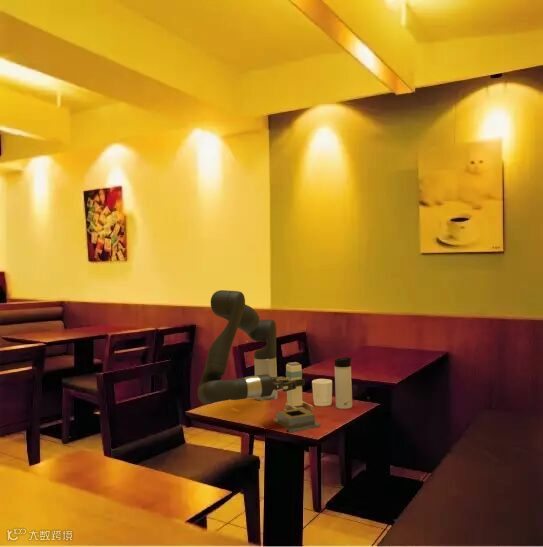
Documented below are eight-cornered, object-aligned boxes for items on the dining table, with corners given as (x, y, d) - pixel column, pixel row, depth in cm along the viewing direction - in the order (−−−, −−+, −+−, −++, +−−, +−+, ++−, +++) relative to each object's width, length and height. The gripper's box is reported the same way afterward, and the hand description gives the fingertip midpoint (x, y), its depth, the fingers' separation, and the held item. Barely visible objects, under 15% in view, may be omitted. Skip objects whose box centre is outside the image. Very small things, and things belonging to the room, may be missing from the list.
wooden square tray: (283, 411, 213) (283, 403, 212) (304, 408, 216) (303, 400, 216) (293, 417, 204) (293, 409, 204) (315, 413, 208) (314, 405, 208)
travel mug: (349, 412, 208) (347, 359, 208) (333, 410, 212) (331, 358, 211) (355, 408, 214) (354, 356, 213) (339, 406, 217) (338, 355, 217)
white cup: (332, 403, 222) (332, 378, 221) (333, 409, 214) (332, 383, 213) (313, 403, 222) (312, 379, 222) (312, 409, 214) (311, 383, 214)
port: (271, 422, 199) (271, 411, 199) (301, 417, 204) (301, 406, 204) (289, 432, 186) (288, 420, 186) (320, 427, 191) (320, 415, 191)
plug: (286, 404, 196) (285, 362, 196) (297, 402, 198) (296, 361, 197) (292, 406, 192) (290, 364, 192) (302, 405, 194) (301, 363, 194)
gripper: (264, 379, 182) (310, 373, 189) (248, 372, 195) (292, 367, 202) (265, 402, 182) (311, 395, 189) (249, 393, 195) (292, 387, 202)
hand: (301, 381), depth 196 cm, fingers closed on plug, 4 cm apart
